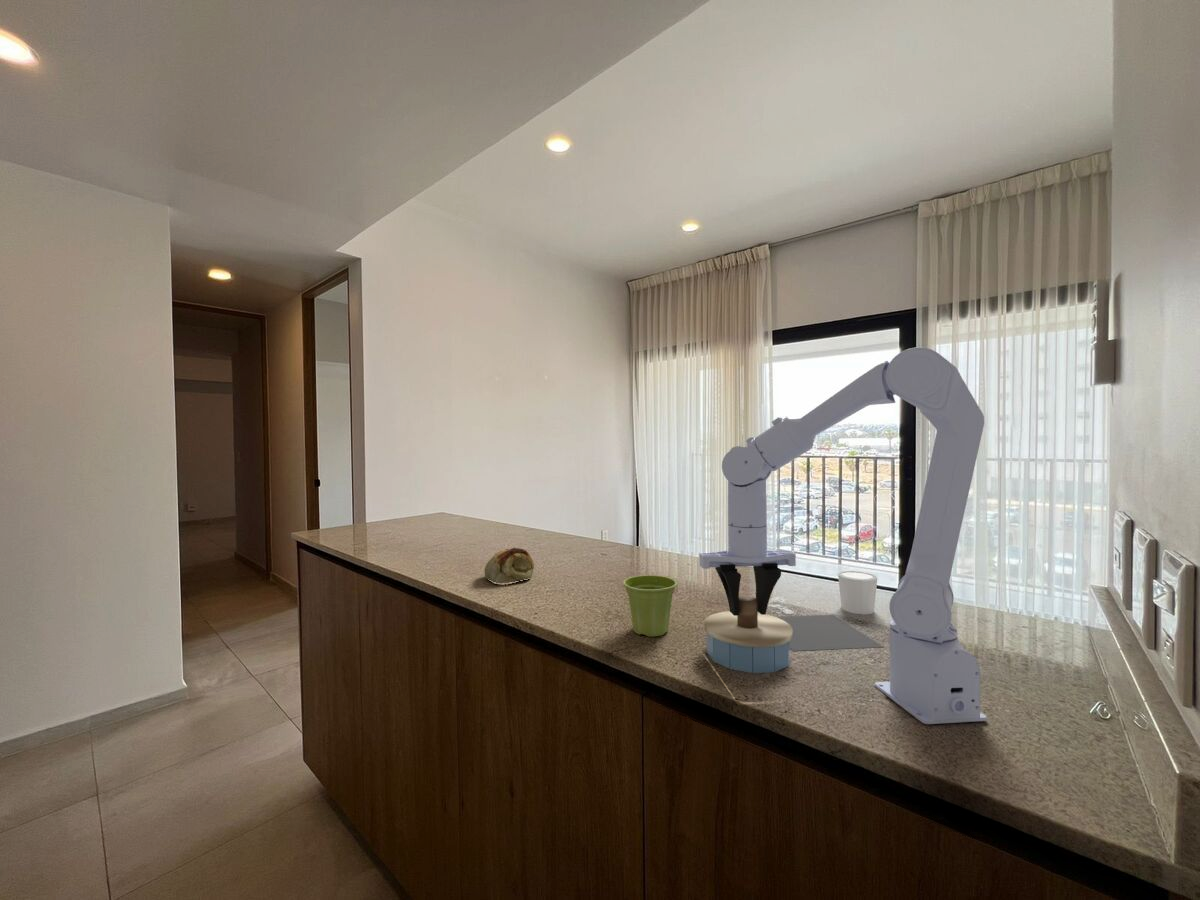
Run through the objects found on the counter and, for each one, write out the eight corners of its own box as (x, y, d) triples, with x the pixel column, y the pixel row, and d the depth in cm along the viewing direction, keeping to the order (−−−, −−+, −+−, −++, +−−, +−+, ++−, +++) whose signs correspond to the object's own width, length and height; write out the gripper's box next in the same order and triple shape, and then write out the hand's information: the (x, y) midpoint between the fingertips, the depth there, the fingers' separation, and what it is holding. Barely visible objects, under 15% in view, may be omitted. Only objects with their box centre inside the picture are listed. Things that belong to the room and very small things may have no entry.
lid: (807, 646, 71) (807, 612, 71) (717, 648, 70) (716, 614, 70) (772, 614, 84) (772, 586, 84) (696, 616, 83) (695, 587, 83)
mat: (884, 648, 79) (884, 646, 79) (793, 652, 78) (793, 650, 78) (832, 616, 94) (832, 614, 94) (755, 619, 93) (755, 617, 93)
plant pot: (634, 644, 82) (633, 591, 82) (616, 624, 91) (616, 577, 91) (686, 637, 85) (686, 586, 84) (664, 619, 94) (664, 573, 94)
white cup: (882, 617, 93) (882, 580, 93) (843, 615, 95) (843, 578, 95) (870, 606, 100) (870, 571, 100) (833, 604, 101) (833, 569, 101)
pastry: (515, 588, 115) (514, 554, 115) (471, 583, 120) (471, 549, 120) (546, 574, 128) (546, 542, 127) (505, 569, 133) (505, 539, 133)
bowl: (804, 672, 71) (804, 644, 71) (722, 676, 70) (722, 647, 70) (769, 639, 83) (769, 615, 83) (698, 642, 82) (698, 618, 82)
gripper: (781, 519, 81) (781, 603, 81) (693, 521, 80) (694, 606, 80) (802, 527, 74) (802, 618, 74) (706, 529, 73) (707, 621, 73)
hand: (747, 613), depth 77 cm, fingers open, 4 cm apart
